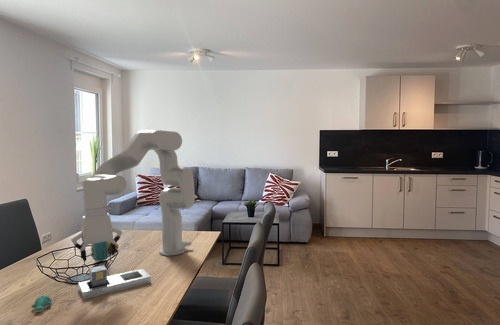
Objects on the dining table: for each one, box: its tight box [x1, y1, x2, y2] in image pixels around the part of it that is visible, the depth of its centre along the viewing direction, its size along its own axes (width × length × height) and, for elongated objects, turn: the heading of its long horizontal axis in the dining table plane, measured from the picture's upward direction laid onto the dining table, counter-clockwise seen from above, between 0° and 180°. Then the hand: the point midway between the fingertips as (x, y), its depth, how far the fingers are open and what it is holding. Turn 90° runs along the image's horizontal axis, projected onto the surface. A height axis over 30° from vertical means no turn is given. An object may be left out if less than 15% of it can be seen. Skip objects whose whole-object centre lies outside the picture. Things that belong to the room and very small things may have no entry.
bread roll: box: [90, 241, 120, 253], centre depth 170 cm, size 13×10×8 cm
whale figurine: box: [31, 294, 53, 313], centre depth 113 cm, size 6×7×4 cm
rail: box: [77, 268, 152, 300], centre depth 130 cm, size 24×10×2 cm, turn 125°
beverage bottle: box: [91, 241, 109, 262], centre depth 156 cm, size 6×7×20 cm
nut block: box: [89, 264, 108, 289], centre depth 127 cm, size 5×5×8 cm
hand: (98, 257), depth 127 cm, fingers open, 9 cm apart
